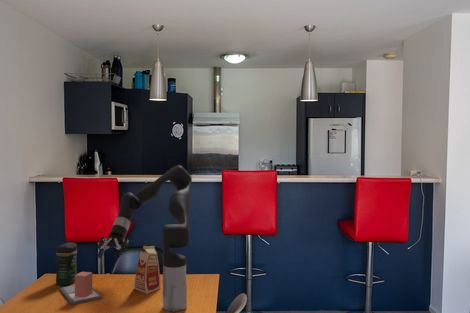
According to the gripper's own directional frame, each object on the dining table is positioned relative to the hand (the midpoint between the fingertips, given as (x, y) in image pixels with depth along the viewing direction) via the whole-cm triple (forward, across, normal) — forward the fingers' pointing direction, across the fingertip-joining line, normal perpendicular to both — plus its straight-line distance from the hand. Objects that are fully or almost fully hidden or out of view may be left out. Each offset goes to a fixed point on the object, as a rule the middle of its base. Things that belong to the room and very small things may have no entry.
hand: (107, 258), depth 186 cm
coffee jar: (+10, +21, -8) cm, 24 cm away
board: (+18, +6, 0) cm, 19 cm away
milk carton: (+8, -19, -11) cm, 24 cm away
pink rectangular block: (+20, +2, +3) cm, 20 cm away
